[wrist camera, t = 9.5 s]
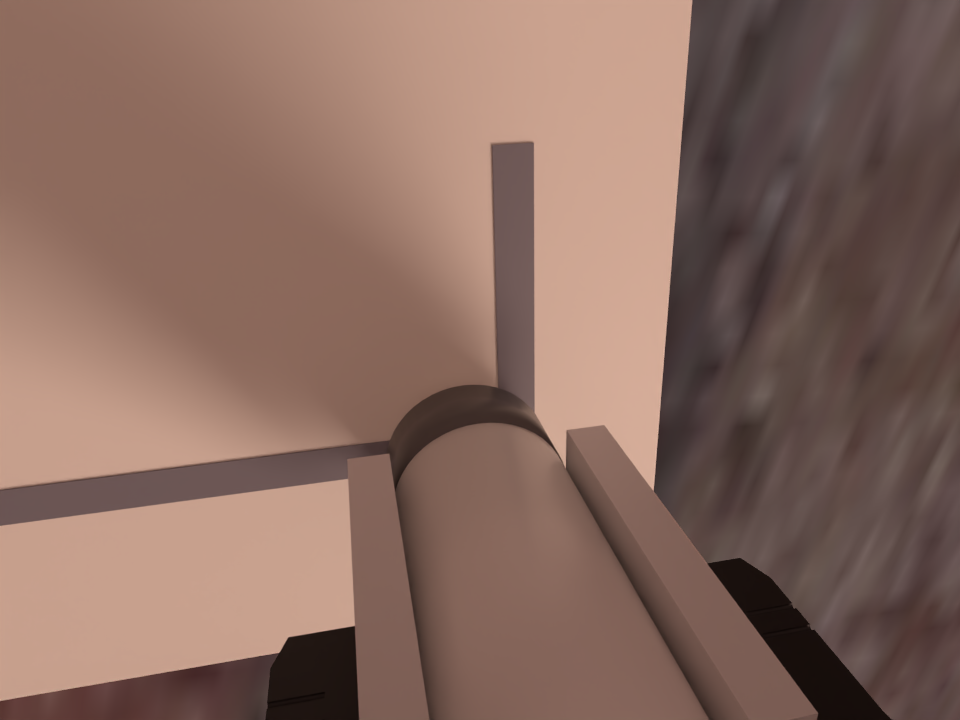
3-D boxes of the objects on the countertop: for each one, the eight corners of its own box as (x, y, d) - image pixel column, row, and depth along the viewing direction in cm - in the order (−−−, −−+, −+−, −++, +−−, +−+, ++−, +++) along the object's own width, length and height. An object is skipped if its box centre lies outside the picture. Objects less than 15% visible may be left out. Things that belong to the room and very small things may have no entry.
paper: (-120, 711, 16) (-129, 724, 15) (-584, -159, 9) (-614, -167, 9) (641, 581, 19) (646, 590, 18) (696, -146, 12) (705, -151, 12)
